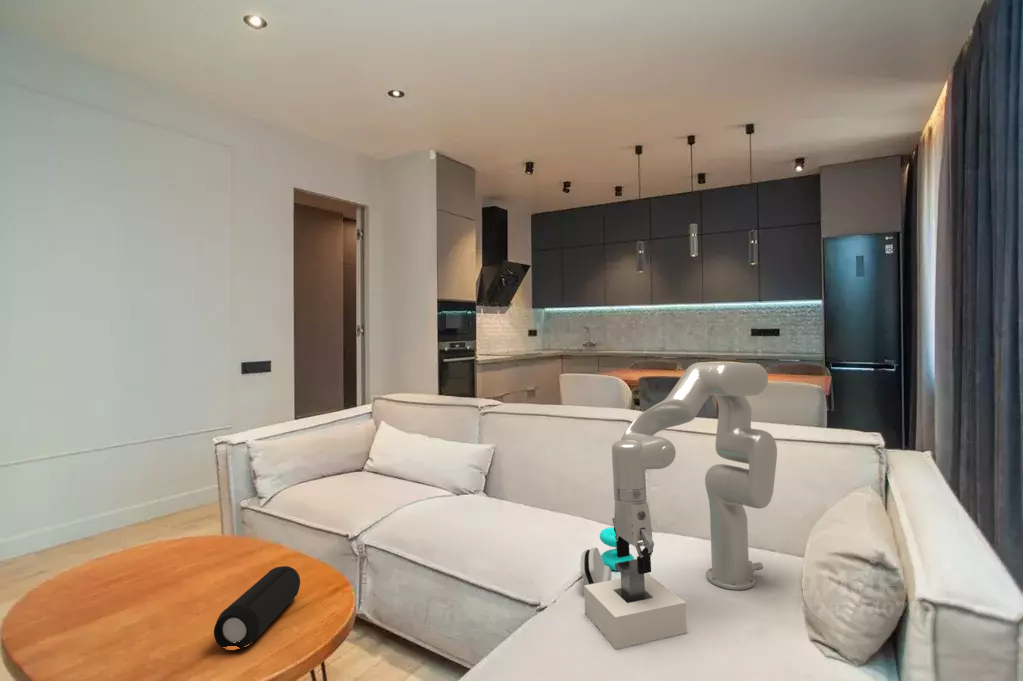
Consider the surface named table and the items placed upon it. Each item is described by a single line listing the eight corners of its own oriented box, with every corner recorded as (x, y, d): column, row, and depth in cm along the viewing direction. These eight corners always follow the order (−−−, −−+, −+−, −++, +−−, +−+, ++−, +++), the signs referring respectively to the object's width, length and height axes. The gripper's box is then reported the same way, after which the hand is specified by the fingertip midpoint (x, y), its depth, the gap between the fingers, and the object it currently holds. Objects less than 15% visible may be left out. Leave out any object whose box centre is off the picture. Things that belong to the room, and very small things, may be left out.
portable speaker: (268, 599, 144) (267, 562, 144) (304, 599, 144) (303, 562, 144) (210, 655, 119) (209, 611, 119) (253, 655, 118) (251, 610, 118)
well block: (648, 600, 136) (647, 573, 136) (686, 633, 121) (685, 602, 121) (584, 613, 131) (584, 585, 131) (616, 649, 116) (615, 617, 116)
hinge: (609, 600, 137) (594, 563, 138) (591, 605, 138) (577, 568, 139) (611, 572, 153) (598, 539, 154) (596, 576, 154) (583, 543, 155)
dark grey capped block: (642, 611, 129) (640, 558, 129) (651, 619, 125) (649, 565, 125) (616, 617, 127) (614, 563, 127) (625, 625, 123) (623, 570, 123)
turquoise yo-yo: (625, 540, 151) (593, 533, 157) (626, 575, 151) (594, 567, 157) (638, 529, 159) (608, 523, 165) (639, 562, 159) (609, 555, 165)
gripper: (664, 501, 119) (668, 576, 119) (625, 481, 135) (629, 548, 136) (634, 506, 117) (638, 583, 117) (599, 485, 133) (602, 553, 133)
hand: (633, 564), depth 126 cm, fingers open, 9 cm apart
